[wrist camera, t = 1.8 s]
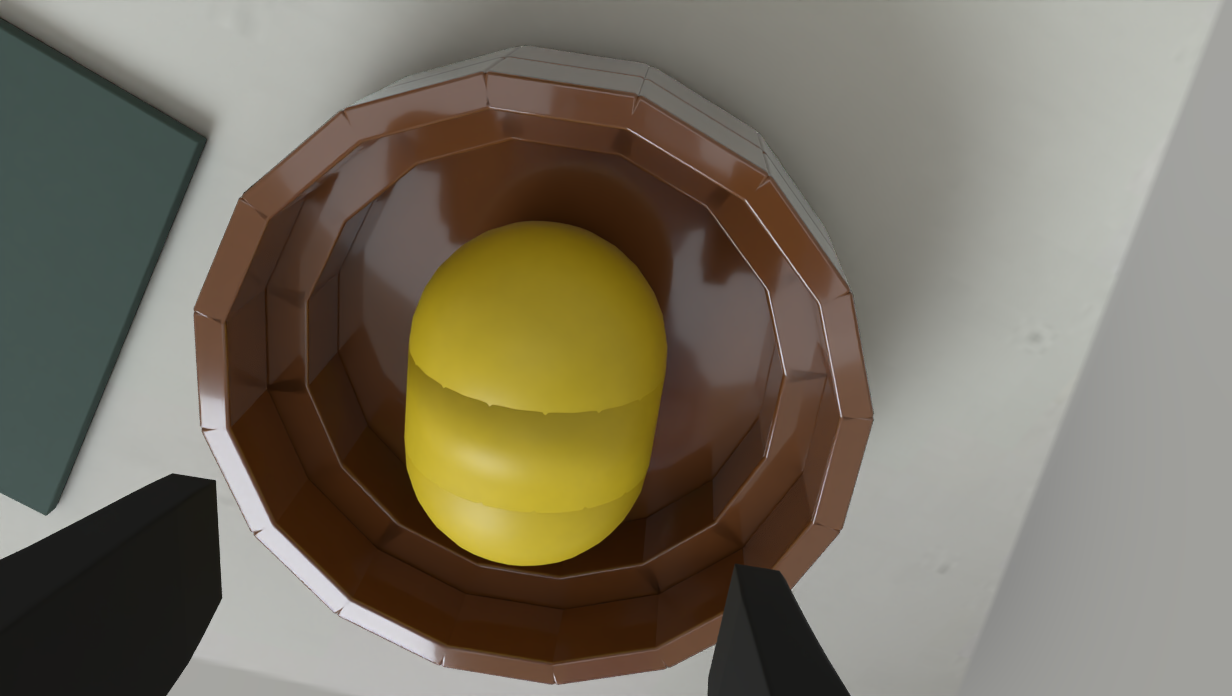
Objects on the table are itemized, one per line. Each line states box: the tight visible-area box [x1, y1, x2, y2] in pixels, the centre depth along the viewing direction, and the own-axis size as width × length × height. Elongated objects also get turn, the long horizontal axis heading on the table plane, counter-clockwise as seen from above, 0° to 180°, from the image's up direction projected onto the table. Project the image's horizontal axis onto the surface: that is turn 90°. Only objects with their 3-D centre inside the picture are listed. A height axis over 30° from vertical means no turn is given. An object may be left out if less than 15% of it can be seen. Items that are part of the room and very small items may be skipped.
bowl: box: [194, 45, 874, 685], centre depth 19 cm, size 12×12×4 cm
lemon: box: [404, 221, 667, 566], centre depth 18 cm, size 7×5×5 cm
